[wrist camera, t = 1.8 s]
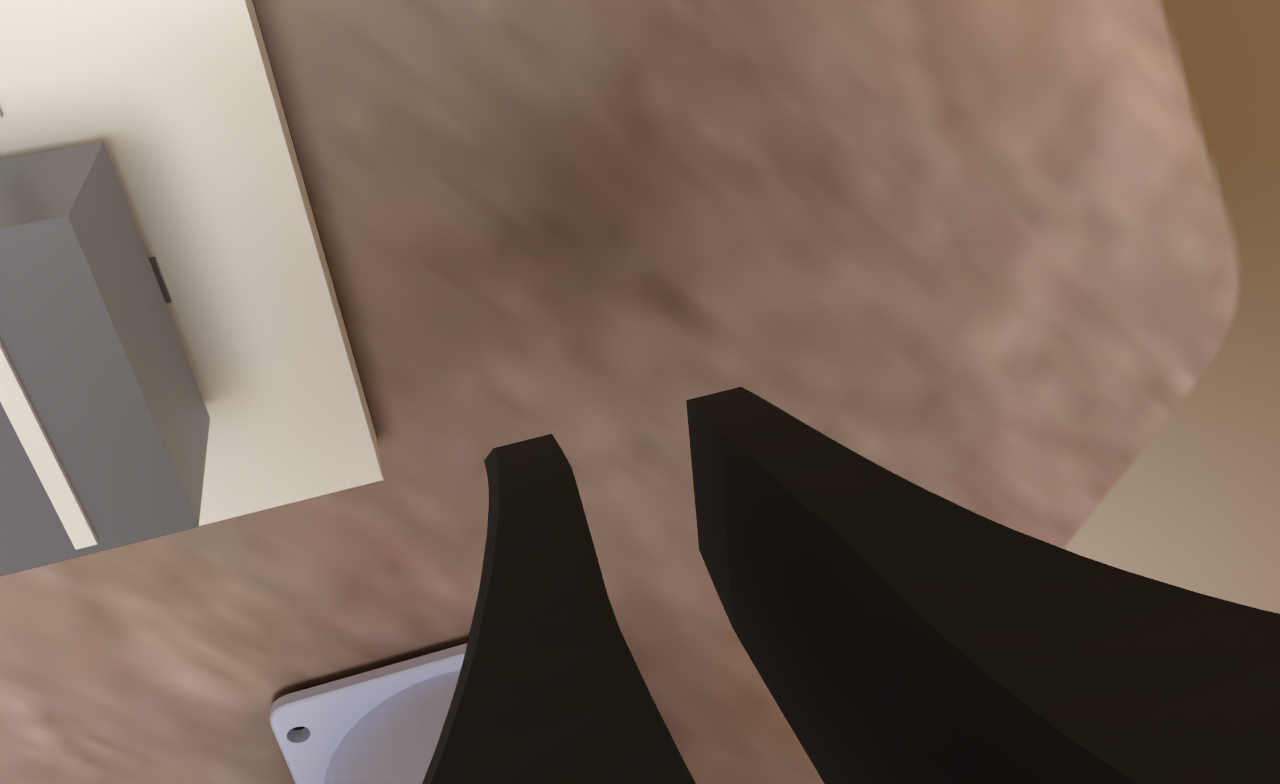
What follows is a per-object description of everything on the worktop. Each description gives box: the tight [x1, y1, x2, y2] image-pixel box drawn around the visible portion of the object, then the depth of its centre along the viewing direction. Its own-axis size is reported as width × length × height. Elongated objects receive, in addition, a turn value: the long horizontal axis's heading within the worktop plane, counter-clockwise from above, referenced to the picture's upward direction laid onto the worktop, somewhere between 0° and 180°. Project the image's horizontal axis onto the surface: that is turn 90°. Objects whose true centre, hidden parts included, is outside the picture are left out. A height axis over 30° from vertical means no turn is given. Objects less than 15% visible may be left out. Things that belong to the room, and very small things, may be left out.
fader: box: [0, 141, 210, 576], centre depth 15 cm, size 5×3×3 cm, turn 6°
